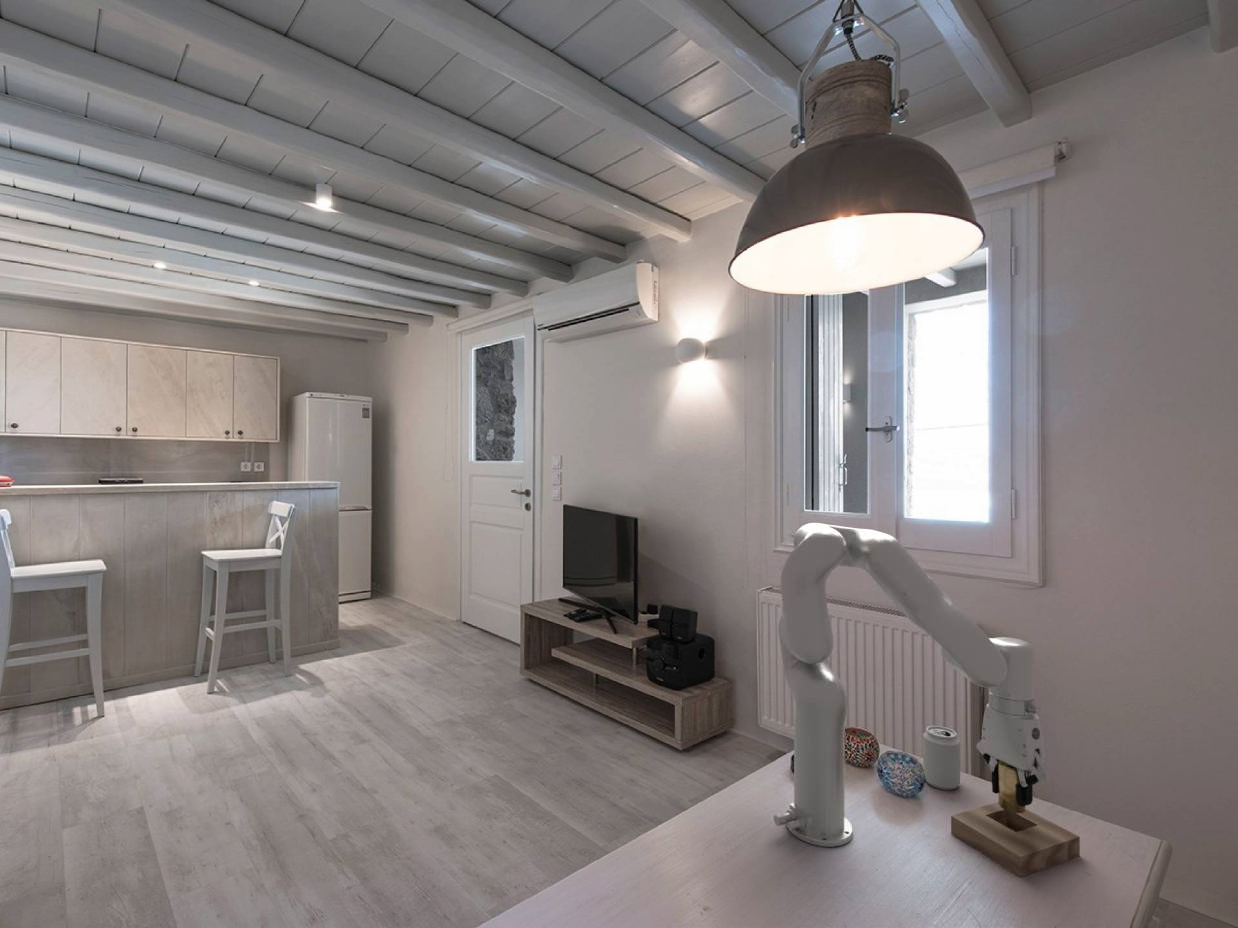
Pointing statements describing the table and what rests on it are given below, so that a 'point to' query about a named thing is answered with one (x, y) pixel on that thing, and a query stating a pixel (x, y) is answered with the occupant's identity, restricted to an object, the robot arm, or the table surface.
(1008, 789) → the bushing
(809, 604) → the robot arm
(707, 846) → the table surface
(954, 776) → the can
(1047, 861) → the block
